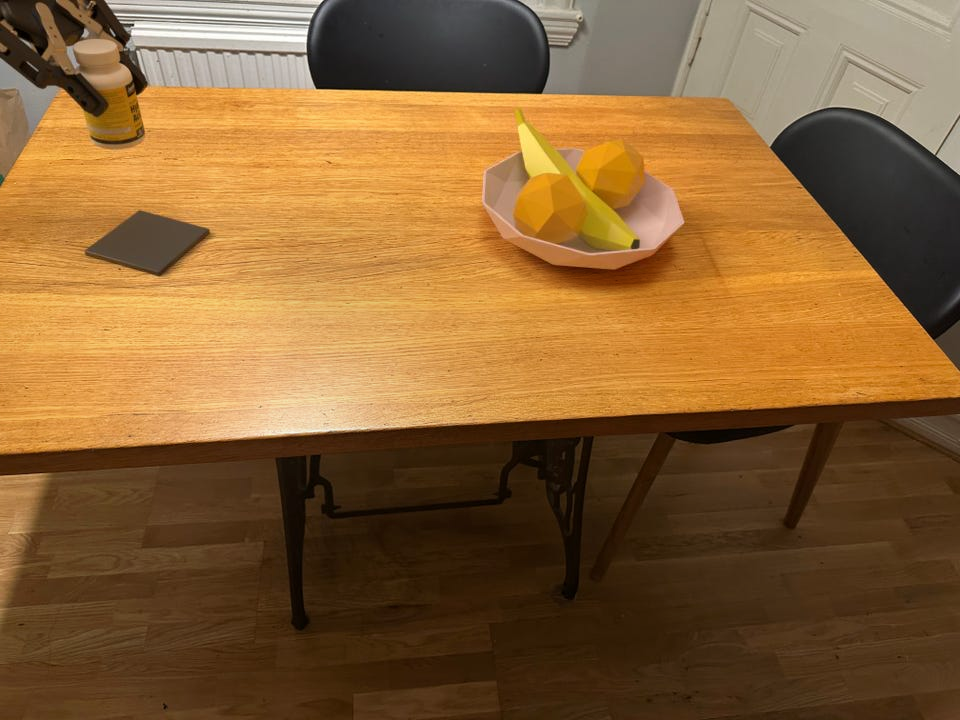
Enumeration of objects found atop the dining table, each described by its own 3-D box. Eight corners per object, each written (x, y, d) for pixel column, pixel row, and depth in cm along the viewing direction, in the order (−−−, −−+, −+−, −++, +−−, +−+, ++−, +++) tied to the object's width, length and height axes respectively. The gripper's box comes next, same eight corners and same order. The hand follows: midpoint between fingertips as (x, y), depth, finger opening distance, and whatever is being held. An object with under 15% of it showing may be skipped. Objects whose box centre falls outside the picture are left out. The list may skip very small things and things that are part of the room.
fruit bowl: (707, 280, 89) (737, 203, 82) (507, 303, 82) (519, 220, 74) (617, 173, 108) (635, 102, 101) (449, 183, 101) (454, 108, 94)
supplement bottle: (149, 148, 74) (127, 54, 68) (93, 154, 72) (64, 58, 66) (143, 125, 78) (121, 34, 71) (90, 131, 76) (61, 37, 69)
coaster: (159, 276, 80) (158, 272, 80) (85, 254, 82) (83, 250, 81) (210, 232, 87) (209, 228, 87) (140, 213, 89) (139, 209, 88)
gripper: (-76, -64, 58) (89, 107, 64) (52, -93, 68) (183, 57, 74) (-98, -7, 62) (58, 148, 69) (25, -43, 73) (151, 95, 79)
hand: (123, 100), depth 71 cm, fingers closed on supplement bottle, 5 cm apart
